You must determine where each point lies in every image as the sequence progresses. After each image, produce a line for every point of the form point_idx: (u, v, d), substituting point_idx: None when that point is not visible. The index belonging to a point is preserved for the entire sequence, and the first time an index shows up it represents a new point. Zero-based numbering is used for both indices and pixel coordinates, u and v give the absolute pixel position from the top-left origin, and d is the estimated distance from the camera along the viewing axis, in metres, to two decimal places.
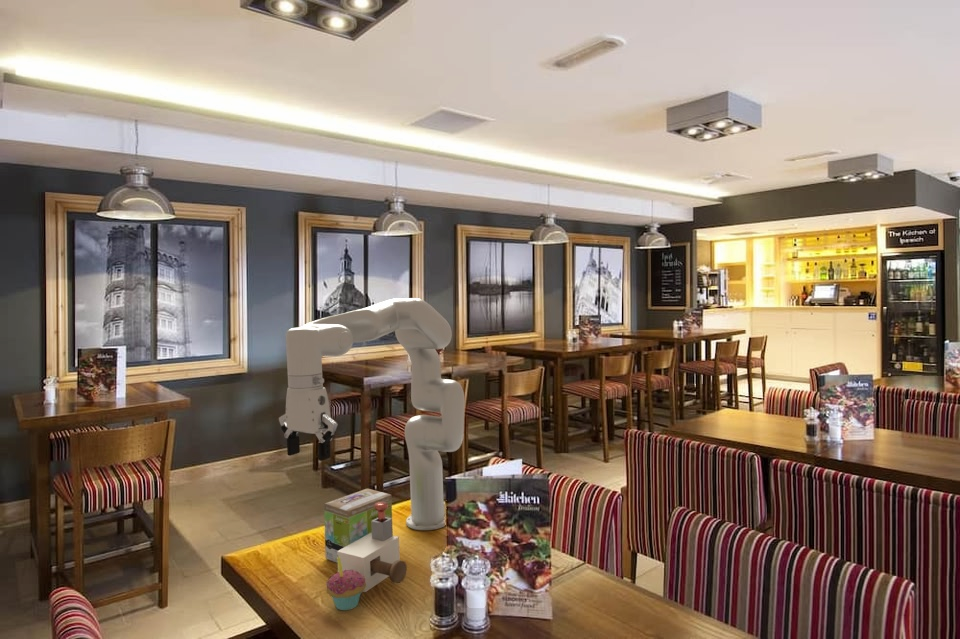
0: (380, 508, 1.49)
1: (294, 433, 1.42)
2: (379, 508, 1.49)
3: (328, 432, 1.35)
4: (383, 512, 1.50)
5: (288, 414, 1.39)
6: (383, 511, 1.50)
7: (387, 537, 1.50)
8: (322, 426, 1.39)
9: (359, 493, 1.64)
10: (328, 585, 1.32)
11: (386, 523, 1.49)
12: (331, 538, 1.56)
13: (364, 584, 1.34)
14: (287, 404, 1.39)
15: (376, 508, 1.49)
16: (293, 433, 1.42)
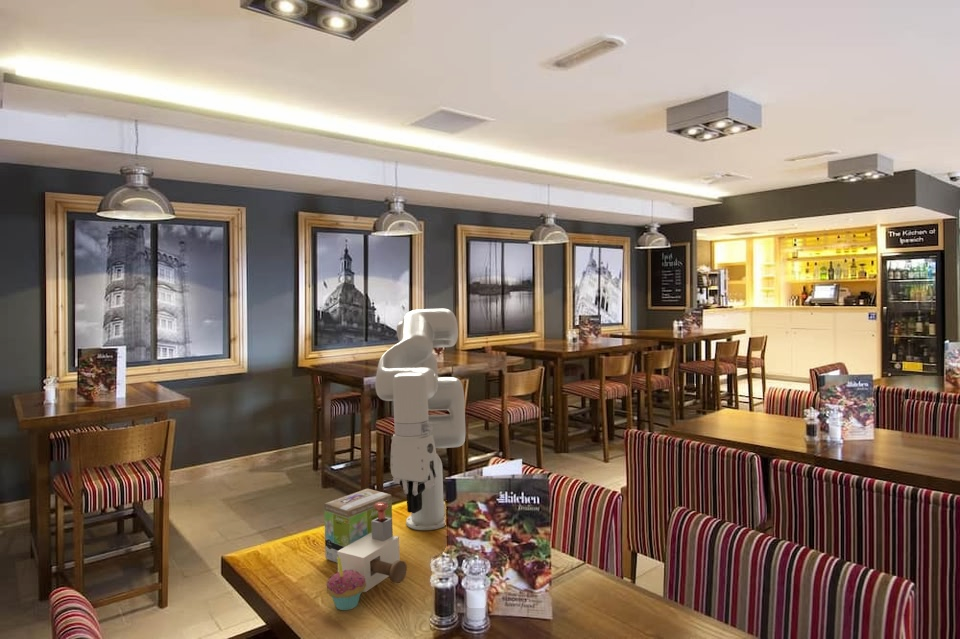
0: (380, 508, 1.49)
1: (412, 486, 1.36)
2: (379, 508, 1.49)
3: (422, 485, 1.33)
4: (383, 512, 1.50)
5: (394, 462, 1.35)
6: (383, 511, 1.50)
7: (387, 537, 1.50)
8: None
9: (359, 493, 1.64)
10: (328, 585, 1.32)
11: (386, 523, 1.49)
12: (331, 538, 1.56)
13: (364, 584, 1.34)
14: (393, 451, 1.35)
15: (376, 508, 1.49)
16: (411, 486, 1.36)
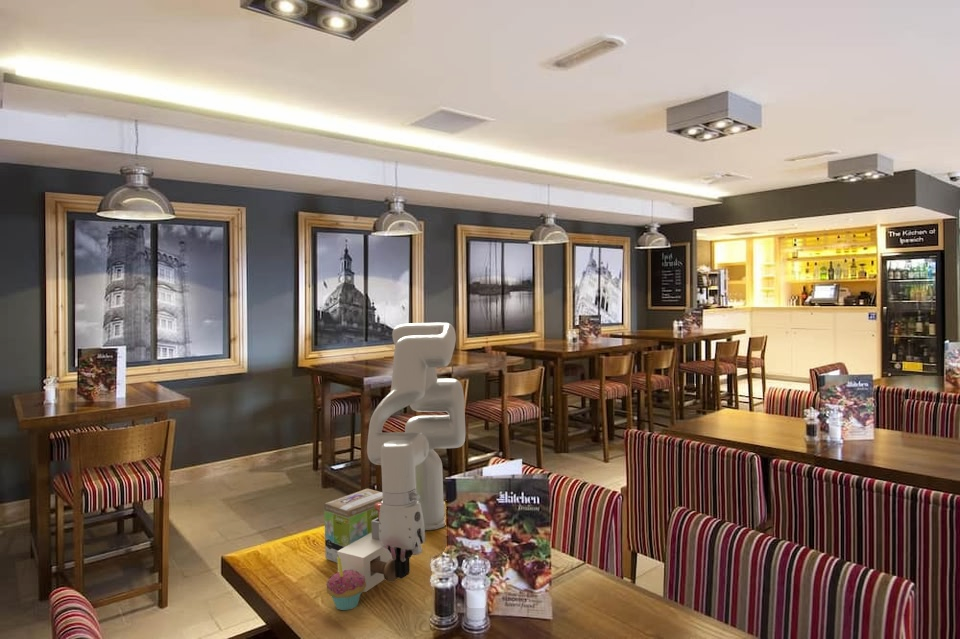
0: None
1: (400, 551, 1.40)
2: (379, 508, 1.49)
3: (409, 551, 1.37)
4: None
5: (382, 528, 1.38)
6: None
7: None
8: None
9: (359, 493, 1.64)
10: (328, 585, 1.32)
11: None
12: (331, 538, 1.56)
13: (364, 584, 1.34)
14: (381, 518, 1.38)
15: (376, 508, 1.49)
16: (399, 552, 1.40)
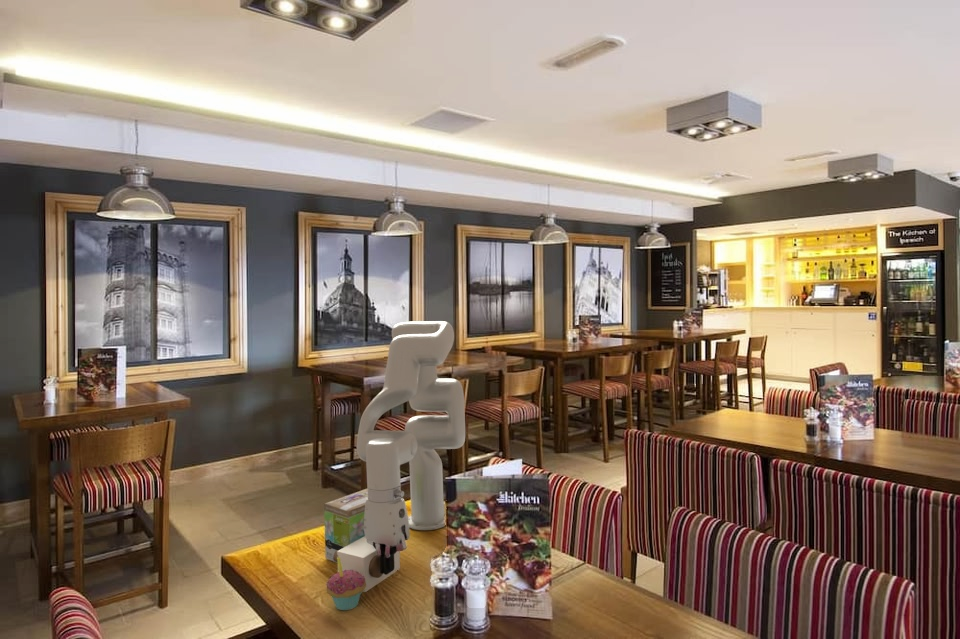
0: None
1: (385, 548, 1.42)
2: None
3: (394, 548, 1.39)
4: None
5: (367, 525, 1.41)
6: None
7: None
8: None
9: (359, 493, 1.64)
10: (328, 585, 1.32)
11: None
12: (331, 538, 1.56)
13: (364, 584, 1.34)
14: (366, 515, 1.41)
15: None
16: (384, 548, 1.42)
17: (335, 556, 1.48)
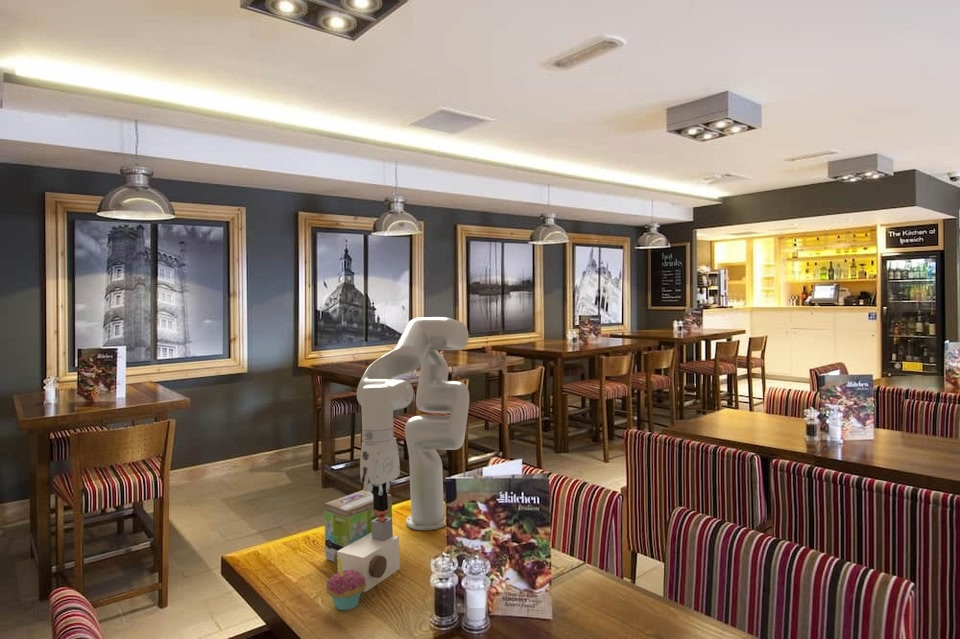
0: (380, 513, 1.49)
1: (383, 487, 1.50)
2: (379, 513, 1.49)
3: None
4: (383, 517, 1.50)
5: None
6: (383, 516, 1.50)
7: (387, 537, 1.50)
8: None
9: (359, 493, 1.64)
10: (328, 585, 1.32)
11: (386, 523, 1.49)
12: (331, 538, 1.56)
13: (364, 584, 1.34)
14: None
15: (376, 513, 1.49)
16: (383, 487, 1.50)
17: (336, 556, 1.48)
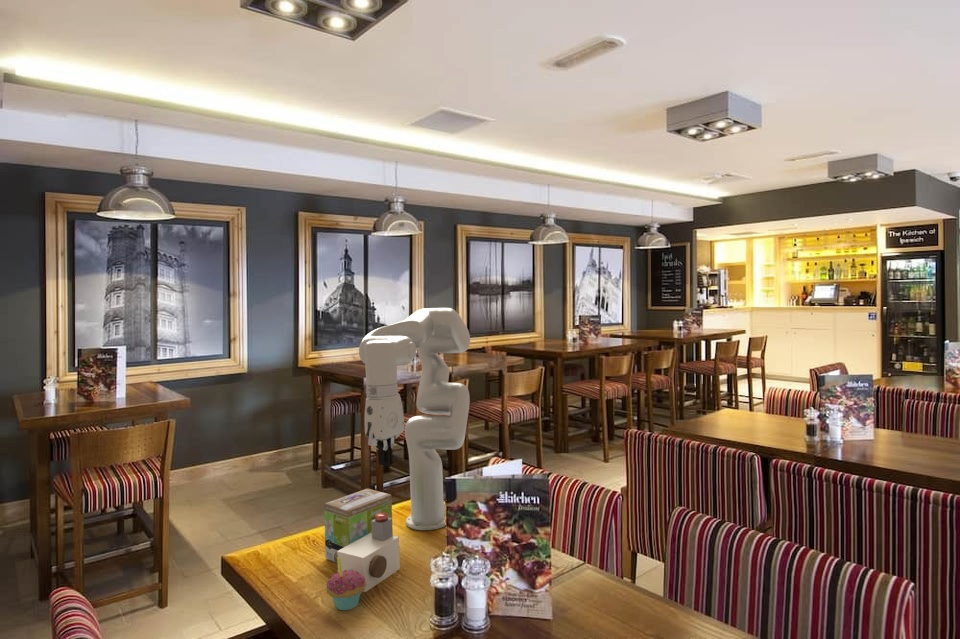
0: (380, 519, 1.49)
1: (388, 443, 1.51)
2: (379, 519, 1.49)
3: None
4: None
5: None
6: None
7: (387, 537, 1.50)
8: None
9: (359, 493, 1.64)
10: (328, 585, 1.32)
11: (386, 523, 1.49)
12: (331, 538, 1.56)
13: (364, 584, 1.34)
14: None
15: (376, 519, 1.49)
16: (388, 442, 1.51)
17: (336, 556, 1.48)
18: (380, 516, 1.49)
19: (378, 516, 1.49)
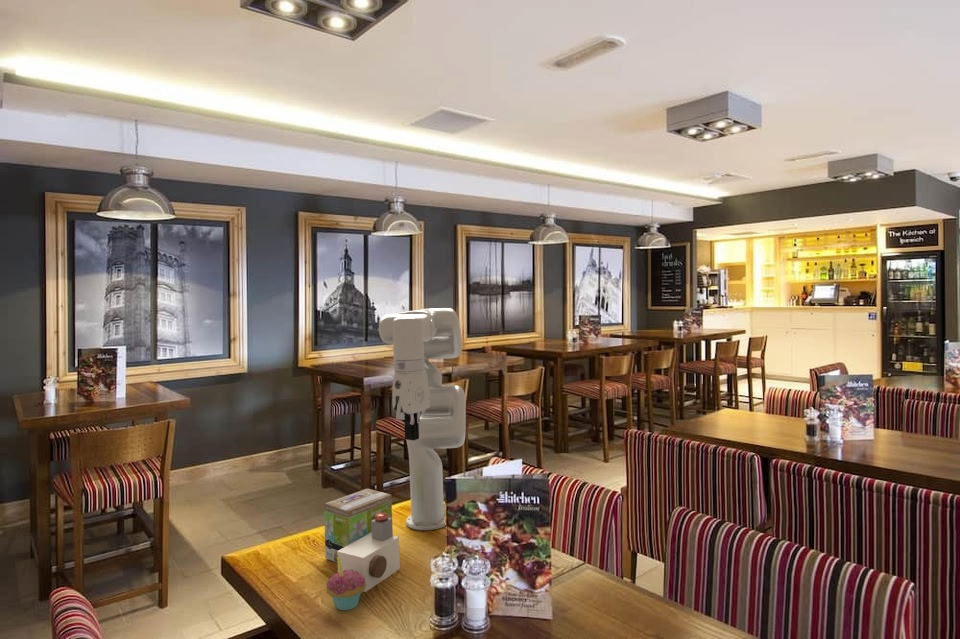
0: (380, 519, 1.49)
1: (414, 418, 1.54)
2: (379, 519, 1.49)
3: None
4: None
5: None
6: None
7: (387, 537, 1.50)
8: None
9: (359, 493, 1.64)
10: (328, 585, 1.32)
11: (386, 523, 1.49)
12: (331, 538, 1.56)
13: (364, 584, 1.34)
14: None
15: (376, 519, 1.49)
16: (414, 417, 1.54)
17: (336, 556, 1.48)
18: (380, 516, 1.49)
19: (378, 516, 1.49)
